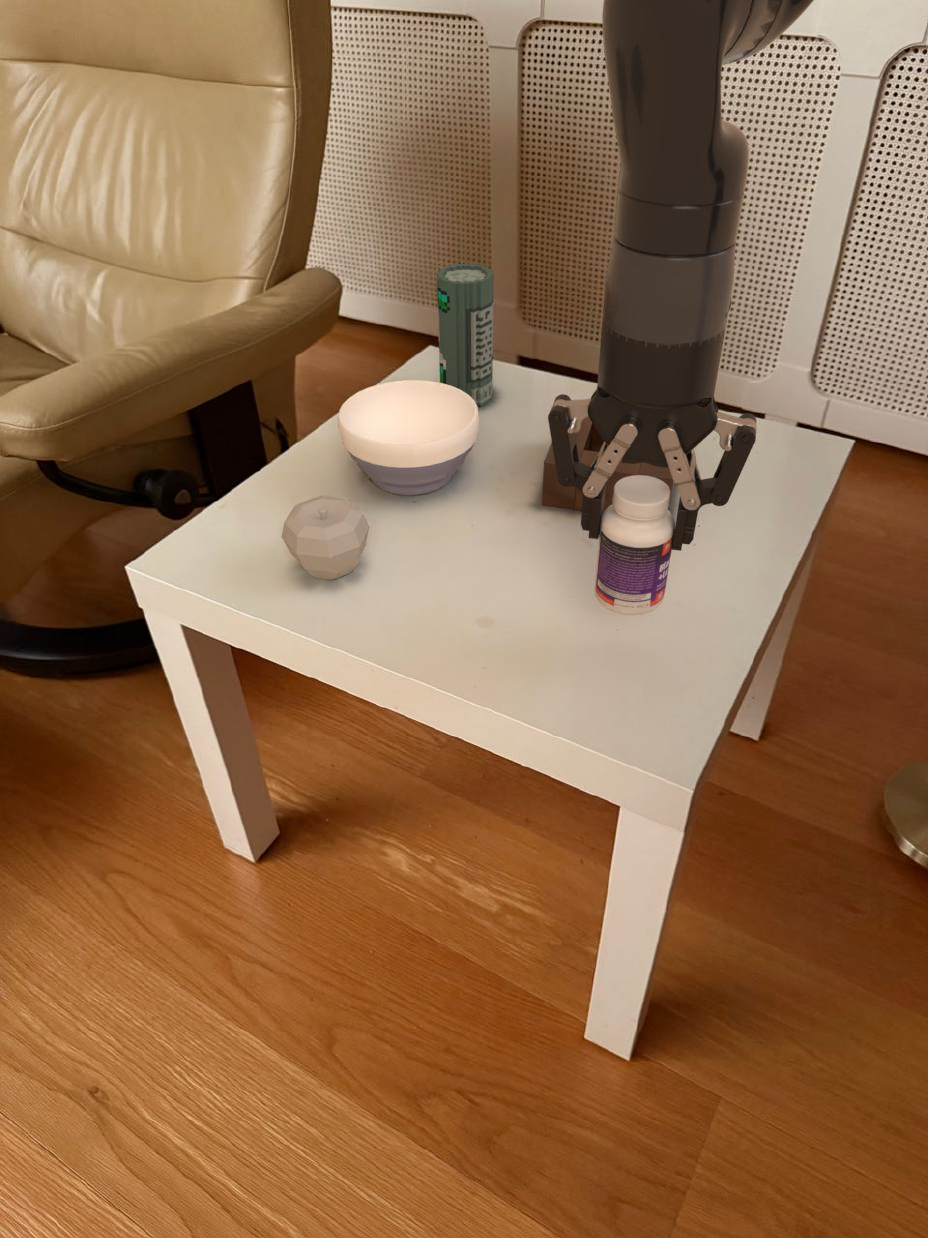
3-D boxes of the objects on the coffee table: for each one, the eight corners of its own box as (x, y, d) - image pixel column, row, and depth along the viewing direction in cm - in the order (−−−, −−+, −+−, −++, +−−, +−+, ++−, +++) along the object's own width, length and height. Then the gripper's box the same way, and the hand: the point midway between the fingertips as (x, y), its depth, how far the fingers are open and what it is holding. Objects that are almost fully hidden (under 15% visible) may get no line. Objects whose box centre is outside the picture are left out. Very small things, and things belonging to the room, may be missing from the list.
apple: (390, 560, 83) (385, 502, 79) (336, 605, 78) (327, 545, 74) (326, 533, 87) (318, 476, 82) (270, 575, 82) (258, 516, 77)
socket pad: (677, 458, 97) (684, 417, 93) (666, 522, 87) (674, 479, 84) (563, 444, 99) (566, 403, 96) (541, 505, 90) (543, 462, 87)
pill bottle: (668, 617, 66) (686, 510, 60) (597, 618, 67) (607, 510, 60) (658, 573, 71) (674, 468, 64) (591, 574, 71) (600, 469, 64)
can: (462, 380, 112) (460, 260, 102) (500, 394, 109) (503, 271, 99) (431, 398, 108) (426, 275, 98) (470, 413, 105) (469, 287, 95)
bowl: (470, 437, 101) (470, 374, 96) (488, 507, 90) (488, 441, 85) (343, 445, 100) (336, 383, 95) (345, 518, 89) (337, 451, 84)
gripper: (537, 328, 53) (530, 554, 64) (786, 349, 50) (733, 583, 61) (560, 283, 58) (550, 499, 69) (786, 300, 55) (737, 523, 66)
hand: (636, 537), depth 65 cm, fingers closed on pill bottle, 5 cm apart
